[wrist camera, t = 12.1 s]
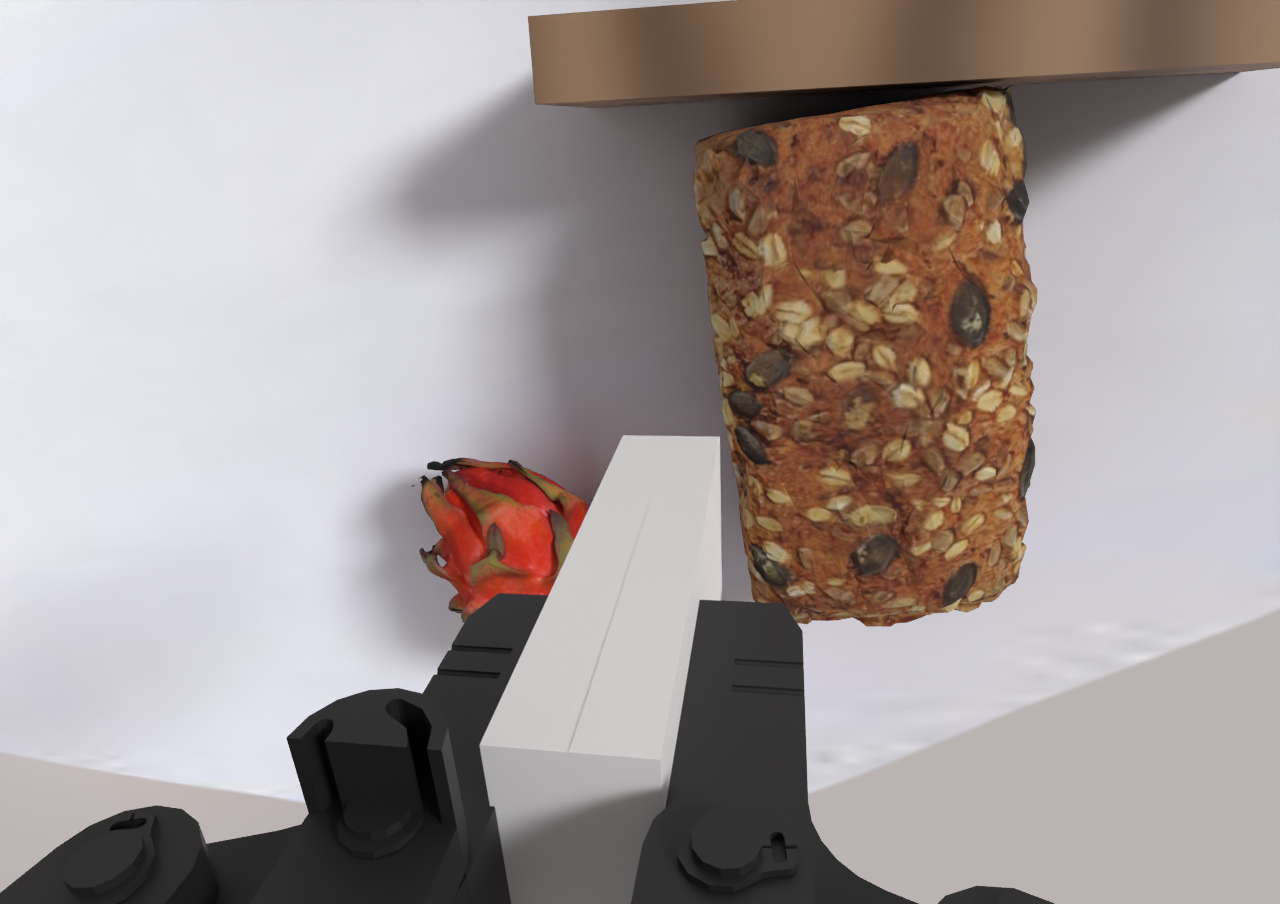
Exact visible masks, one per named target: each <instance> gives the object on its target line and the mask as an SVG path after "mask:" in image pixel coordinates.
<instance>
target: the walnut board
mask: <svg viewBox="0 0 1280 904" xmlns="http://www.w3.org/2000/svg"><path fill="white" fill-rule="evenodd" d="M528 23H529V35H530V46H531V58H532V69H533V81H534V92H535V104H542V105H558V106H573V107H589V108H595V107H613V106H631V105H649V104H667V103H686V102H704V101H722V100H740V99H758V98H776V97H794V96H813V95H831V94H849V93H867V92H885V91H903V90H922V89H940V88H958V87H976V86H994V85H1012V84H1031V83H1049V82H1067V81H1085V80H1103V79H1121V78H1139V77H1158V76H1176V75H1194V74H1212V73H1230V72H1245V71H1255V70H1264V69H1273V68H1280V0H736V1H723V2H710V3H697V4H684V5H671V6H657V7H644V8H631V9H618V10H605V11H592V12H579V13H566V14H553V15H540V16H528Z"/></svg>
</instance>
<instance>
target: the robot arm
mask: <svg viewBox="0 0 1280 904" xmlns="http://www.w3.org/2000/svg"><path fill="white" fill-rule="evenodd" d="M721 593H722V550H721V482H720V437H713V436H638V435H623V436H622V438H621V441H620V443H619V445H618V447H617V449H616V451H615V454H614V456H613V458H612V460H611V462H610V464H609V466H608V469H607V471H606V473H605V475H604V477H603V479H602V482H601V484H600V486H599V488H598V490H597V492H596V495H595V497H594V499H593V501H592V503H591V505H590V507H589V510H588V512H587V514H586V516H585V518H584V520H583V523H582V525H581V527H580V529H579V531H578V533H577V536H576V538H575V540H574V542H573V544H572V546H571V548H570V551H569V553H568V555H567V557H566V559H565V561H564V564H563V566H562V568H561V570H560V572H559V574H558V577H557V579H556V581H555V583H554V585H553V587H552V589H551V592H550V594H549V595H531V594H511V593H498V594H497V595H496V596H494V597H493V598H492V599H490V600H489V601H488V602H487V603H485V604H484V605H483V606H481V607H480V608H479V609H478V610H476V611H475V612H474V613H472V614H471V615H470V616H469V617H468V618H467V620H466V622H465V623H464V625H463V627H462V629H461V630H460V632H459V634H458V635H457V637H456V639H455V640H454V642H453V644H452V650H451V651H449V650H448V652H447V654H446V655H445V657H444V659H443V660H442V662H441V664H440V665H439V667H438V672H437V675H433V677H432V679H431V681H430V682H429V684H428V686H427V687H426V689H425V691H424V692H423V694H421V693H417V692H412V691H408V690H404V689H399V688H395V689H380V690H368V691H365V692H361V693H358V694H355V695H352V696H348V697H345V698H342V699H339V700H336V701H335V702H333V703H331V704H329V705H328V706H326V707H324V708H322V709H321V710H319V711H317V712H315V713H314V714H312V715H310V716H309V717H308V718H307V719H305V720H304V721H303V722H302V723H301V724H300V725H299V726H298V727H297V728H296V729H295V730H294V731H293V732H292V733H291V734H290V735H289V736H288V737H287V741H288V745H289V748H290V751H291V755H292V758H293V761H294V765H295V768H296V772H297V775H298V778H299V782H300V785H301V788H302V792H303V795H304V799H305V802H306V805H307V808H308V812H309V814H308V815H307V817H306V819H305V820H304V822H303V823H302V824H301V825H298V826H294V827H290V828H287V829H283V830H279V831H274V832H269V833H264V834H258V835H252V836H247V837H242V838H236V839H231V840H225V841H220V842H214V843H209V844H206V842H205V839H204V837H203V834H202V831H201V829H200V826H199V823H198V822H197V821H196V820H195V819H194V818H192V817H191V816H190V815H189V814H187V813H186V812H185V811H184V810H182V809H177V808H170V807H163V806H152V807H145V808H140V809H134V810H129V811H124V812H121V813H119V814H117V815H114V816H112V817H109V818H107V819H105V820H102V821H100V822H97V823H95V824H93V825H91V826H89V827H87V828H86V829H84V830H83V831H81V832H80V833H78V834H76V835H75V836H73V837H72V838H70V839H69V840H67V841H66V842H64V843H63V844H61V845H60V846H58V847H57V848H56V849H54V850H53V851H52V852H51V853H49V854H48V855H47V856H46V857H44V858H43V859H42V860H41V861H39V862H38V863H37V864H36V865H35V866H33V867H32V868H31V869H30V870H29V871H27V872H26V873H25V874H24V875H22V876H21V877H20V878H19V879H17V880H16V881H15V882H13V883H12V884H11V885H10V886H8V887H7V888H6V889H5V890H3V891H2V892H1V893H0V904H918V903H915V902H913V901H910V900H908V899H905V898H903V897H900V896H898V895H896V894H893V893H890V892H888V891H886V890H883V889H881V888H879V887H878V886H876V885H874V884H872V883H870V882H868V881H866V880H864V879H862V878H860V877H858V876H857V875H855V874H854V873H853V872H852V871H851V870H849V869H848V868H847V867H846V866H844V865H843V864H842V863H841V862H839V861H838V860H837V859H836V858H835V857H834V855H833V854H832V853H831V852H830V851H829V849H828V848H827V847H826V846H825V845H824V843H823V842H822V841H821V839H820V837H819V835H818V833H817V831H816V829H815V827H814V825H813V823H812V821H811V815H810V810H809V805H808V790H807V759H806V729H805V699H804V669H803V638H802V630H801V628H800V627H799V626H798V624H797V623H796V621H795V620H794V618H793V617H792V615H791V614H790V612H789V611H788V609H787V608H786V607H785V605H784V604H780V603H759V602H738V601H721ZM938 904H1054V903H1052V902H1049V901H1046V900H1044V899H1041V898H1038V897H1035V896H1033V895H1030V894H1028V893H1025V892H1022V891H1020V890H1017V889H1014V888H1001V887H986V886H975V887H972V888H969V889H965V890H962V891H959V892H956V893H953V894H950V895H947V896H945V897H944V898H943V899H942V900H941V901H940V902H939V903H938Z"/></svg>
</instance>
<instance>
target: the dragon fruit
mask: <svg viewBox="0 0 1280 904" xmlns="http://www.w3.org/2000/svg"><path fill="white" fill-rule="evenodd" d="M427 468H428V469H432V470H441V471H442V475H443V476H444V477H446V479H447V480H448V482H449V483H448V485H447V489H446V490H445V493H446V495H444V487H443V483H442V477H441V476H437V477H434V478H433V479H430V480H429V479H428V478H427V477H425V475H423V476H422V477H420V478H422V479H423V480H422V481H421V482H420V483H422V494H421V500H422V502H423V505H424V507H425V510H426V512H427V514H428V515H429V516H430V518H431V519H432V520H433V522H434V524H435V526H436V528H437V531H438V532H439V533H440V535H441V536H442V537H443V538H442V539H440V540H439V541H438V542H437V544H436V545H434V546H433V547H432V550H431V551H428V552H425V551H424V550H423V548H421V549H420V550H419V551H420V555H421V557H422V559H423V562H424V563H426V565H427V567H428V569H429V571H430V572H432V573H433V574H435V575H437V576H439V577H441V578H444V579H446V580H448V581H450V583H451V584H452V585H453V586H454V587H455V588H456V589H457V590H458V592H459V593H458V594H457V595H455V596H454V597H453V598H452V599H451V600H450V603H449V610H451V611H455V612H457V613H462V614H461V618H462V620H463V622H466V620H467V618H468V617H469V616H470V615H471V614H472V613H474V612H475V611H476V610H478V609H479V608H480V607H481V606H483V605H484V604H485V603H487V602H488V601H489V600H490V599H492V598H493V597H494V596H496V595H497V594H498V593H511V594H531V595H549V594H550V592H551V589H552V587H553V585H554V583H555V581H556V579H557V577H558V574H559V572H560V570H561V568H562V566H563V564H564V561H565V559H566V557H567V555H568V553H569V551H570V548H571V546H572V544H573V542H574V540H575V538H576V536H577V533H578V531H579V529H580V527H581V525H582V523H583V520H584V518H585V516H586V514H587V512H588V510H589V507H588V504H587V503H586V502H585V501H584V500H583V499H581V498H580V497H578V496H576V495H575V494H572V493H569V492H568V491H566V490H565V489H564V488H563V487H561V486H560V485H558V484H557V483H555V482H554V481H552V480H550V479H548V478H546V477H545V476H543V475H541V474H538V473H536V472H533V471H531V470H528V469H525V468H524V467H523V466H522V465H520V464H519V463H518V462H517V461H513V460H509V462H508V463H502V462H484V461H478V460H475V459H469V458H457V459H451V460H447V461H444V462H443V463H442V464H441V463H439V462H435V461H434V462H430V463H428V465H427ZM458 469H461V470H458ZM443 470H444V471H443ZM451 470H458V471H456V472H452V471H451ZM418 479H419V478H418ZM413 486H415V485H413ZM411 487H412V486H411ZM437 555H439V556H440V557H442V558H443V559H444V560H445V561H446V562H447V564H446V565H445V566H444V567H441V566H440V565H439V563H438V560H437Z"/></svg>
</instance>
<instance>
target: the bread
mask: <svg viewBox="0 0 1280 904" xmlns="http://www.w3.org/2000/svg"><path fill="white" fill-rule="evenodd" d="M1011 87H1012V85H1011V86H1009V87H1007V88H1005V89H1002V87H1001V86H996V87H989V86H983V87H978V88H974V89H965V90H956V91H949V92H943V93H936V94H929V95H923V96H918V97H915V98H912V99H908V100H904V101H901V102H894V103H888V104H881V105H874V106H867V107H862V108H857V109H852V110H847V111H841V112H837V113H833V114H827V115H819V116H811V117H802V118H796V119H791V120H786V121H781V122H776V123H768V124H763V125H758V126H753V127H747V128H742V129H737V130H732V131H728V132H723V133H719V134H716V135H713V136H710V137H707V138H705V139H702V140H699V141H697V144H696V146H695V151H696V159H697V164H696V167H695V169H694V174H693V192H694V197H695V202H696V208H697V212H698V216H699V220H700V224H701V227H702V228H703V230H704V232H705V234H706V237H707V238H706V239H705V240H704V241H702V242H701V246H702V250H703V254H704V257H705V261H706V268H707V275H708V300H709V309H710V316H711V322H712V326H713V328H714V330H715V335H714V337H713V343H714V349H715V358H716V363H717V364H718V372H719V376H720V391H721V397H722V413H723V417H724V421H725V425H726V427H727V433H726V434H727V437H728V441H729V444H730V448H731V451H732V466H733V469H734V473H735V476H736V480H737V485H738V490H739V497H740V504H739V508H740V520H741V527H742V533H743V540H744V547H745V553H746V555H747V556H748V569H749V573H750V577H751V584H752V595H753V599H754V600H755V601H756V602H759V603H780V604H784V605H785V607H786V608H787V609H788V611H789V612H790V614H791V615H792V617H793V618H794V620H795V621H796V623H803V624H808V623H809V622H811V621H812V620H824V621H829V620H841V619H846V618H850V617H853V618H855V619H857V620H859V621H861V622H862V623H863V624H865V625H866V626H892V625H894V624H895V623H907V622H910V621H913V620H915V619H918V618H921V617H923V616H925V615H930V614H932V613H944V612H947V613H948V612H950V611H952V610H954V609H955V610H959V611H963V612H969V611H971V610H974V609H976V608H978V607H979V606H980V604H981V602H992V601H993V600H995V599H996V598H998V597H999V595H1000V594H1001V593H1002V591H1003V590H1005V589H1006V588H1007V587H1008V586H1009V585H1011V584H1013V583H1015V581H1016V580H1017V578H1018V575H1019V568H1020V564H1021V561H1022V558H1023V556H1024V553H1025V551H1026V545H1025V544H1023V543H1022V540H1023V537H1024V534H1025V531H1026V528H1027V525H1028V522H1029V521H1028V514H1027V507H1026V499H1025V495H1026V492H1027V489H1028V488H1029V486H1030V479H1031V475H1032V472H1033V469H1034V466H1035V446H1034V443H1033V441H1032V439H1031V434H1032V432H1033V426H1032V424H1033V420H1034V417H1035V414H1036V410H1035V408H1034V407H1033V406H1032V405H1031V404H1030V403H1029V402H1030V399H1031V396H1032V393H1033V390H1034V385H1033V383H1032V381H1031V378H1030V377H1031V371H1032V369H1033V362H1032V361H1031V360H1030V359H1029V357H1028V356H1027V355H1026V354H1027V347H1028V345H1027V337H1028V331H1029V326H1030V320H1031V315H1032V313H1033V310H1034V308H1035V305H1036V303H1037V288H1036V287H1035V285H1034V284H1033V283H1032V281H1031V273H1030V266H1029V264H1028V262H1027V260H1026V258H1025V248H1026V245H1025V242H1024V237H1023V218H1024V215H1025V213H1026V210H1027V207H1028V204H1029V199H1028V195H1027V191H1026V187H1025V184H1024V180H1023V179H1024V175H1025V170H1026V166H1027V163H1026V149H1025V142H1024V140H1023V138H1022V136H1021V134H1020V132H1019V129H1018V128H1017V126H1016V121H1015V114H1014V107H1013V103H1012V99H1011V97H1010V92H1011Z"/></svg>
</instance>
